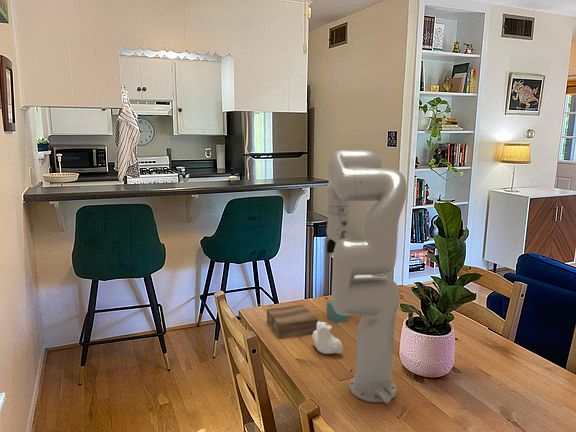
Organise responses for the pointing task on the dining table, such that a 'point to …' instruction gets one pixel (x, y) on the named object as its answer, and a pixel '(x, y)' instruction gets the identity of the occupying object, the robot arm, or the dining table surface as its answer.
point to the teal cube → (334, 314)
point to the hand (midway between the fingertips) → (336, 256)
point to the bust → (326, 339)
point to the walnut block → (291, 321)
